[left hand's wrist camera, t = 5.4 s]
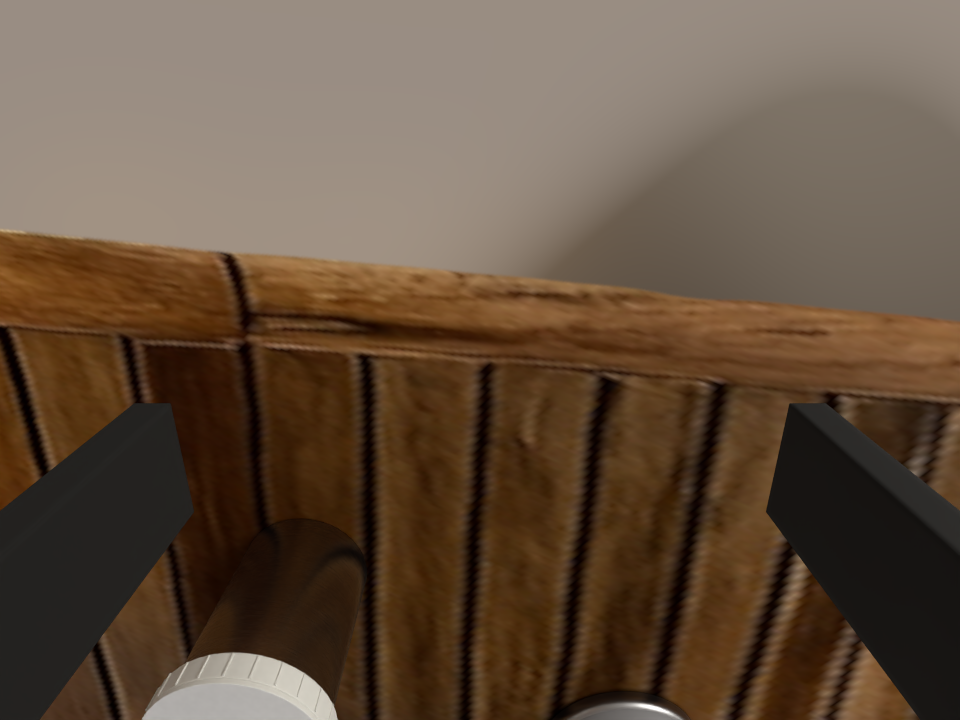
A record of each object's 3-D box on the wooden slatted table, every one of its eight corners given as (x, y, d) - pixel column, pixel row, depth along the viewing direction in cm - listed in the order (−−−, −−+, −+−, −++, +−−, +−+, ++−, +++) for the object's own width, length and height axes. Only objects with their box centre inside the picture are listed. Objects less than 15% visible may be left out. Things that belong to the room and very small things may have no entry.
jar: (362, 620, 51) (318, 806, 37) (246, 607, 50) (157, 791, 37) (371, 526, 47) (325, 693, 33) (245, 511, 47) (146, 675, 33)
